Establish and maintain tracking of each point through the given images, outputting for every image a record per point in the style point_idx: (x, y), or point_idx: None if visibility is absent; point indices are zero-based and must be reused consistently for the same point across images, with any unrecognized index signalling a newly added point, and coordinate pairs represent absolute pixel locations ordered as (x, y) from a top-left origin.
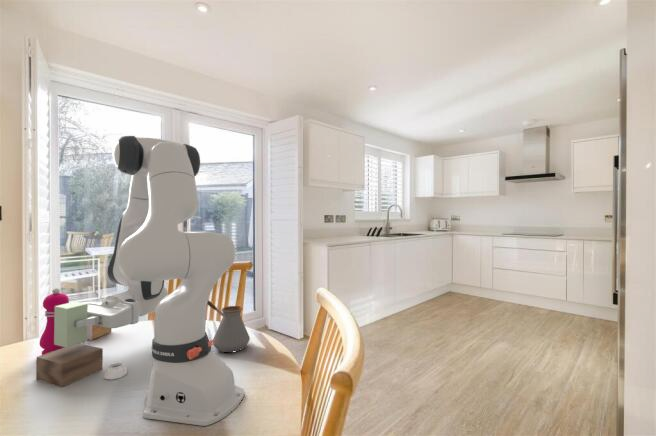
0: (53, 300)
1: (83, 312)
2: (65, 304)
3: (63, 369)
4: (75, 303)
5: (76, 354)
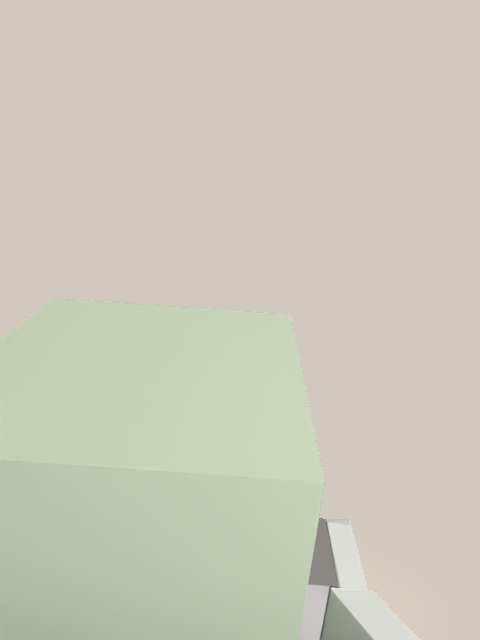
0: None
1: None
2: (257, 357)
3: None
4: (165, 412)
5: None
